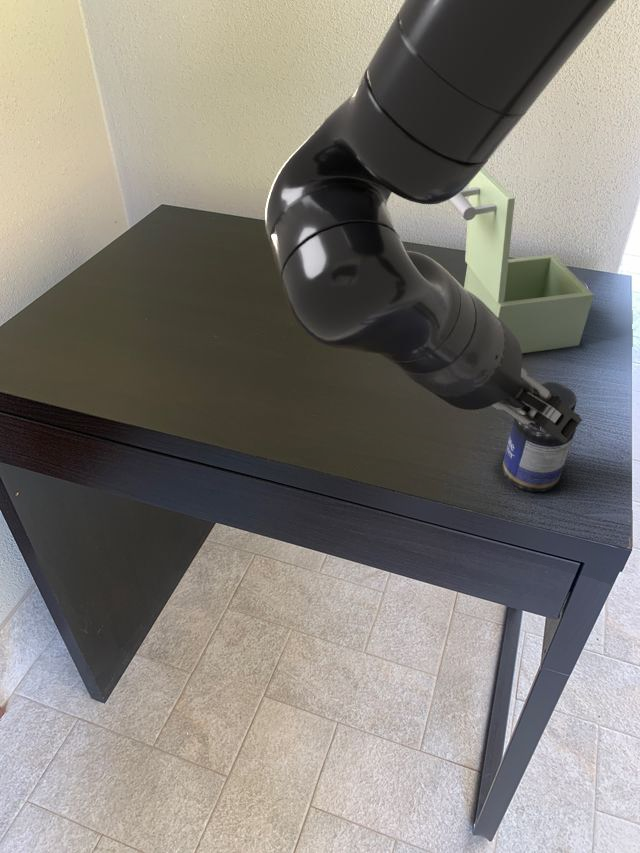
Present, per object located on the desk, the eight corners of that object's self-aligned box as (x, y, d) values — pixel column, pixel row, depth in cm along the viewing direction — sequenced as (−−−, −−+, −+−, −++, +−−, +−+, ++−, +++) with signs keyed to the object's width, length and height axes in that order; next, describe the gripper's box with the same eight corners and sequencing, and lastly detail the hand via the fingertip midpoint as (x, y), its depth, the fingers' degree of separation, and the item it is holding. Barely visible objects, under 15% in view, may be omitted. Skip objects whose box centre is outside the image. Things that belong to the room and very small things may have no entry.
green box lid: (477, 161, 84) (438, 168, 84) (515, 197, 76) (472, 205, 76) (470, 260, 94) (436, 266, 93) (504, 302, 85) (466, 309, 85)
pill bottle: (505, 449, 77) (523, 371, 70) (560, 460, 76) (585, 382, 69) (498, 487, 73) (517, 408, 66) (557, 500, 72) (583, 420, 64)
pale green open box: (541, 302, 101) (553, 254, 96) (579, 345, 93) (594, 294, 87) (460, 313, 99) (467, 263, 94) (490, 357, 91) (500, 306, 85)
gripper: (563, 348, 47) (614, 409, 60) (416, 268, 55) (489, 337, 68) (498, 438, 48) (562, 479, 61) (364, 346, 56) (446, 399, 69)
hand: (524, 404), depth 64 cm, fingers open, 8 cm apart
